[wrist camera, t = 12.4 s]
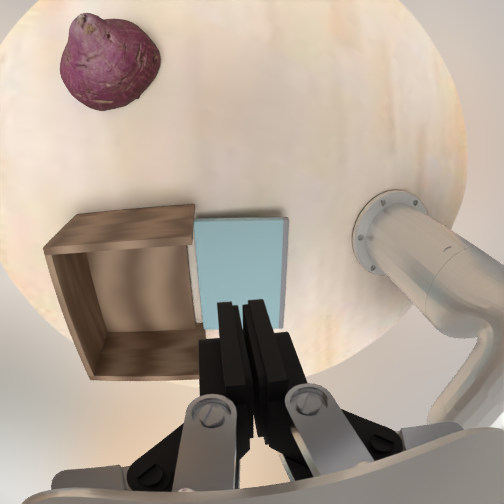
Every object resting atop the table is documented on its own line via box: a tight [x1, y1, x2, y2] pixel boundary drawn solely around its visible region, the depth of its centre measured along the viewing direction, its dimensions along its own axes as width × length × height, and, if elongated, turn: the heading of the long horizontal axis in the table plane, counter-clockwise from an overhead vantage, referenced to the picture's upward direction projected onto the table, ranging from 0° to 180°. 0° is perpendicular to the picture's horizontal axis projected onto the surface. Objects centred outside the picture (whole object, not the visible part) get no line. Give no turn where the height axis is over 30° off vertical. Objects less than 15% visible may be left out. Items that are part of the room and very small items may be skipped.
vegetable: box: [60, 13, 161, 111], centre depth 23 cm, size 10×10×15 cm
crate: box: [43, 204, 206, 381], centre depth 35 cm, size 15×18×10 cm
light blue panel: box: [194, 217, 289, 329], centre depth 39 cm, size 1×15×11 cm
